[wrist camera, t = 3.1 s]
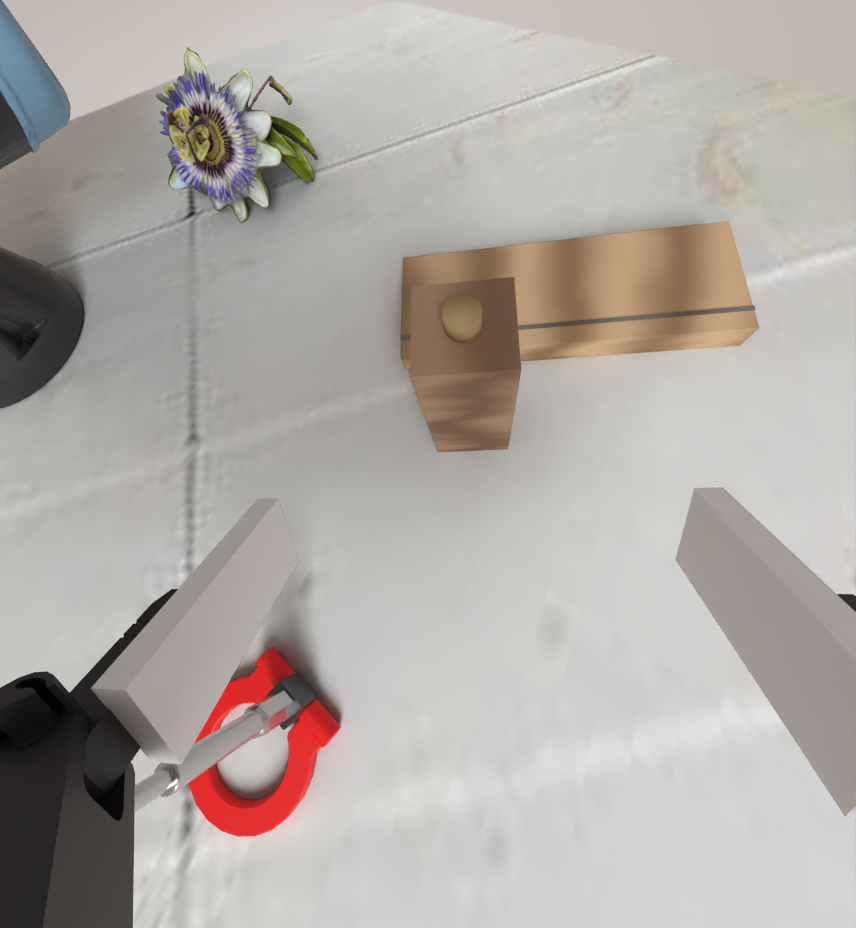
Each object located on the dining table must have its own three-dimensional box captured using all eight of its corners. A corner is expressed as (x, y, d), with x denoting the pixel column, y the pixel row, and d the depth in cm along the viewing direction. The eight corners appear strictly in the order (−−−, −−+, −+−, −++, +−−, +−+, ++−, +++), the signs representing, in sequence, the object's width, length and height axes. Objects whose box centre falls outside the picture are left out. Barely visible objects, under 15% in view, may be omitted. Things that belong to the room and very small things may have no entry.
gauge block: (438, 452, 28) (405, 365, 17) (437, 390, 30) (407, 272, 18) (507, 449, 27) (523, 356, 16) (504, 385, 29) (515, 260, 18)
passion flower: (275, 259, 43) (145, 202, 34) (271, 171, 44) (144, 94, 35) (333, 199, 36) (186, 107, 27) (326, 95, 37) (183, -26, 28)
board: (405, 369, 30) (400, 354, 28) (407, 276, 33) (402, 256, 31) (740, 345, 27) (760, 326, 25) (713, 243, 30) (729, 219, 28)
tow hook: (253, 860, 23) (356, 733, 24) (-30, 1196, 11) (202, 913, 11) (175, 744, 26) (271, 633, 26) (-125, 910, 13) (70, 692, 14)
